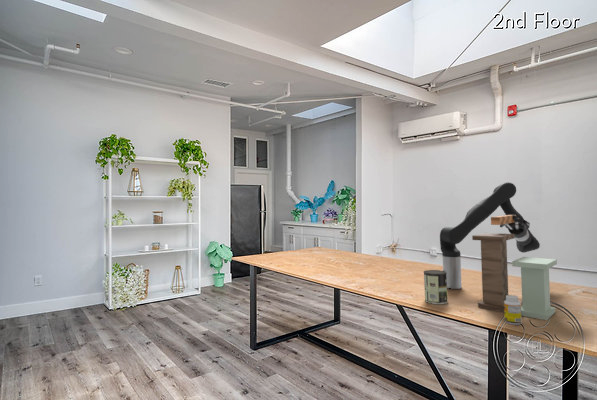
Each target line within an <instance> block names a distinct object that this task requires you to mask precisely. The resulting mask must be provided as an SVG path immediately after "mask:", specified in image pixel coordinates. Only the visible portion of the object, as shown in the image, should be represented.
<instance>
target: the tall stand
mask: <svg viewBox="0 0 597 400" xmlns="http://www.w3.org/2000/svg"><path fill="white" fill-rule="evenodd" d="M471 237H472V238H471V239H472V241H480V257H481V284H482V285H481V286H482V287H481V288H482V289H481V290H482V291H481V292H482V300H480V301H478V302H477V308H479V309H485V310H490V311H495V312H500V313H504V301H505V300H506V295H509V279H508V278H509V272H508V271H509V270H508V248H507V245H508V243H507V241H510V240H513V239H514V234H511V233H500V232H499V233H498V232H497V233H496V232H494V233H493V232H484V233H479V234H474V235H471Z"/></svg>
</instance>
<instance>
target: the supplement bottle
mask: <svg viewBox="0 0 597 400" xmlns="http://www.w3.org/2000/svg"><path fill="white" fill-rule="evenodd" d="M521 307H522V302H520V300H519V297H518V296H517V295H514V294H513V295H512V294H508V295H506V300H505V301H504V312H503V313H504V314H503V315H504V322H505V323H506V324H508V325H512V326H513V325H515V326H519V325H521V324H522V316H521Z"/></svg>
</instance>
